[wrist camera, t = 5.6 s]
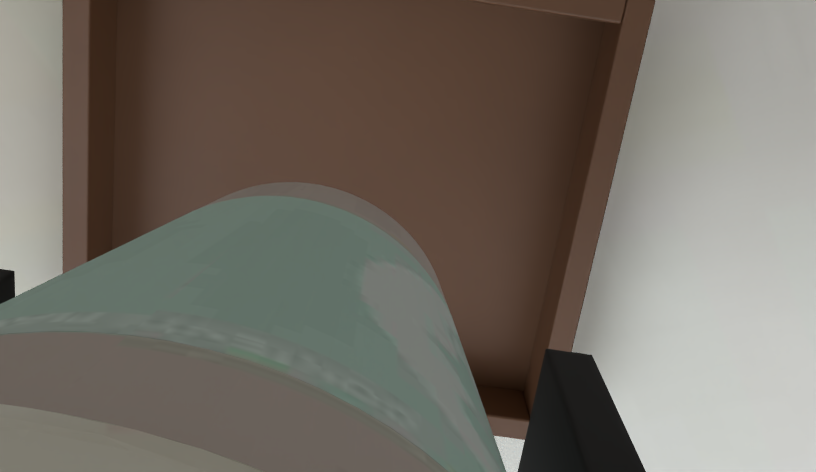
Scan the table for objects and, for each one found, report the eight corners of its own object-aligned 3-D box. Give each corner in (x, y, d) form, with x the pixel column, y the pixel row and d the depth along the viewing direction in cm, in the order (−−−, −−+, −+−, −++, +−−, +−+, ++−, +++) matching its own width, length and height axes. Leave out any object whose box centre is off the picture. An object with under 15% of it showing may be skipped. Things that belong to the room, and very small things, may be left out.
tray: (631, -1, 23) (656, -1, 20) (538, 405, 27) (549, 444, 25) (100, -84, 22) (61, -94, 20) (93, 344, 27) (61, 377, 24)
